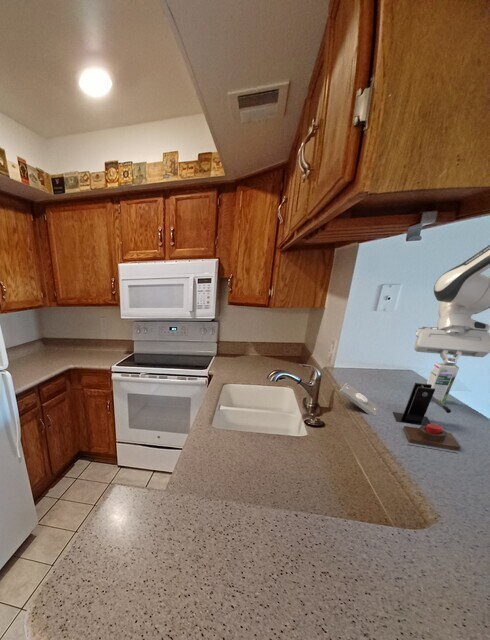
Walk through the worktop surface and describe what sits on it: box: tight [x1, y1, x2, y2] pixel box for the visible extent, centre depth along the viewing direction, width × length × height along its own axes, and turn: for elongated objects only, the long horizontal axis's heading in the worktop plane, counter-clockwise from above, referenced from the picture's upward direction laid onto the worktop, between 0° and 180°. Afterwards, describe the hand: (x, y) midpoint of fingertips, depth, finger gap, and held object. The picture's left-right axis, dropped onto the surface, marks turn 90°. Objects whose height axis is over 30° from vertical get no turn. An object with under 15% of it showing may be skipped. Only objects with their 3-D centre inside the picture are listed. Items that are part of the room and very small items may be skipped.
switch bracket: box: [392, 382, 435, 426], centre depth 107 cm, size 10×8×13 cm
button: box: [425, 423, 443, 434], centre depth 96 cm, size 4×4×2 cm
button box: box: [402, 425, 461, 454], centre depth 97 cm, size 12×9×4 cm
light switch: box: [339, 382, 381, 417], centre depth 118 cm, size 8×6×14 cm
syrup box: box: [426, 362, 460, 404], centre depth 122 cm, size 6×6×14 cm
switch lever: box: [415, 385, 452, 414], centre depth 105 cm, size 11×5×2 cm
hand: (449, 364), depth 109 cm, fingers closed
